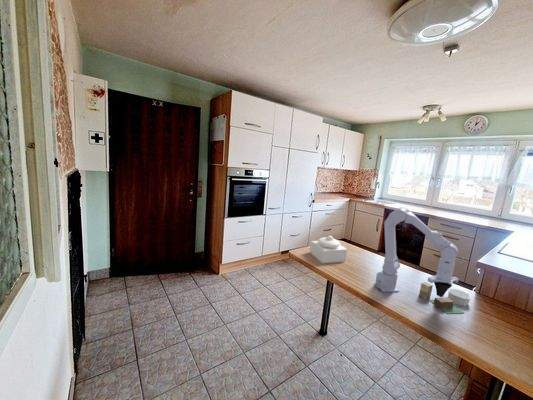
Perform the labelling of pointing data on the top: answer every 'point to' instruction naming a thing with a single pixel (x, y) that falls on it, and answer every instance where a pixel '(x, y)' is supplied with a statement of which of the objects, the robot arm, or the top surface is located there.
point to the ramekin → (459, 297)
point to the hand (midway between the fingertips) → (439, 295)
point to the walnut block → (443, 303)
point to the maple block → (425, 290)
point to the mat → (450, 309)
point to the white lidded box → (328, 250)
